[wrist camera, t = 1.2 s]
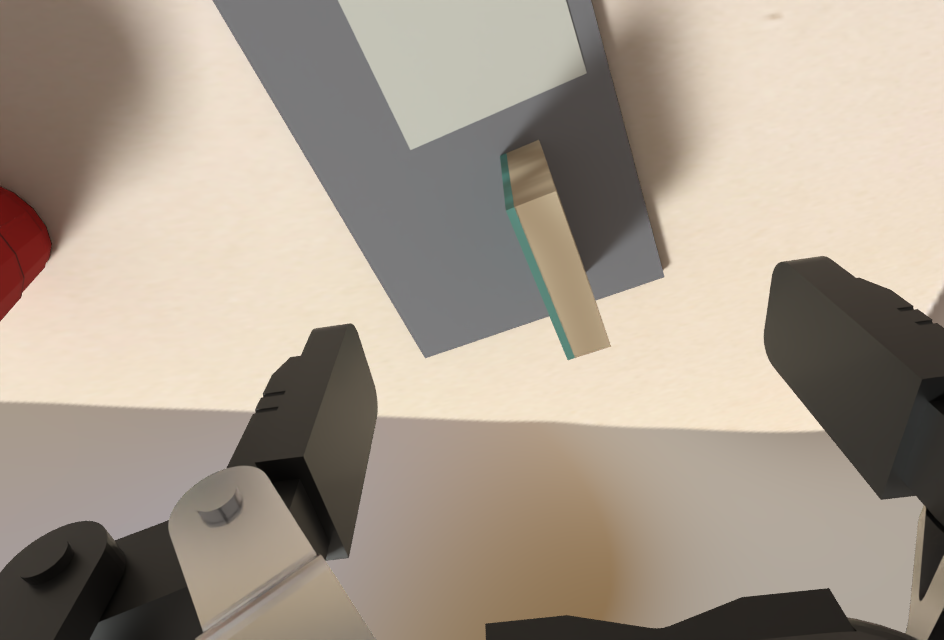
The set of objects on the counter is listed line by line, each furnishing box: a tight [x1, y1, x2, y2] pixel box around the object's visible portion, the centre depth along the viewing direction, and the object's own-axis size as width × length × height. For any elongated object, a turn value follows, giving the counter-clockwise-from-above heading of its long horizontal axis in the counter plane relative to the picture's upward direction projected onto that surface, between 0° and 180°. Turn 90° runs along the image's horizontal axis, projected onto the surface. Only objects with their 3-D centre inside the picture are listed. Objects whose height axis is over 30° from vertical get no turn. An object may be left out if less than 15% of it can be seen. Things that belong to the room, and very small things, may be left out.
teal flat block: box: [500, 140, 611, 360], centre depth 26 cm, size 2×8×7 cm, turn 23°
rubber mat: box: [213, 0, 664, 358], centre depth 27 cm, size 15×22×1 cm
